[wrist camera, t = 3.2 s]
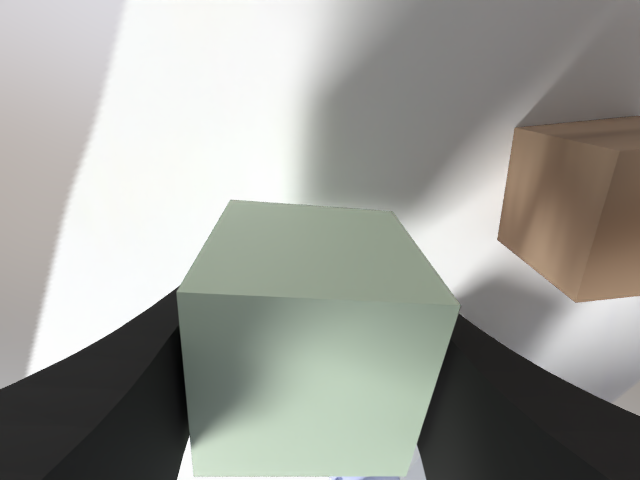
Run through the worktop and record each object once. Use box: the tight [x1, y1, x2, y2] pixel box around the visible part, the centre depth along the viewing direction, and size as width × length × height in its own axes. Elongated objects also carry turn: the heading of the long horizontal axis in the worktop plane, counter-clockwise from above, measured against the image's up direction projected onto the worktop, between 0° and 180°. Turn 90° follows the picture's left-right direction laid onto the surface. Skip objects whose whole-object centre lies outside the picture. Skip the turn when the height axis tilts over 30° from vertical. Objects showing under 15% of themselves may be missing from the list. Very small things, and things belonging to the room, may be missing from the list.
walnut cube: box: [497, 116, 640, 303], centre depth 13 cm, size 5×5×5 cm
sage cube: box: [176, 200, 461, 477], centre depth 9 cm, size 5×5×5 cm
